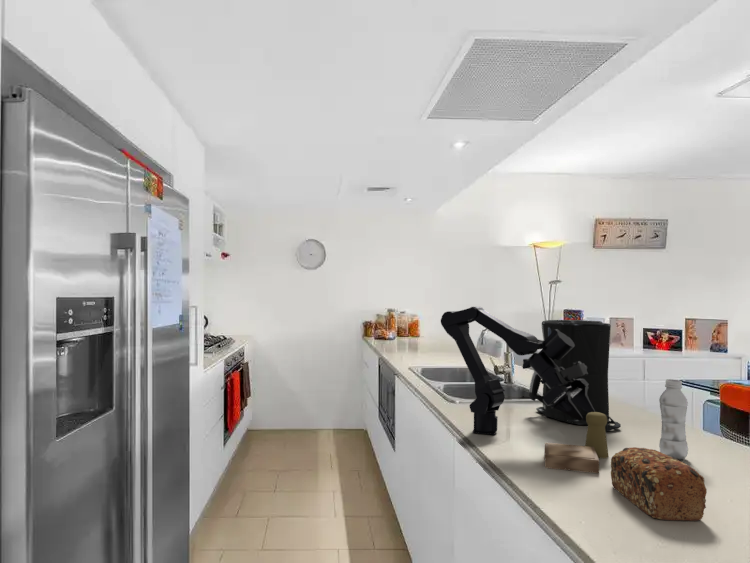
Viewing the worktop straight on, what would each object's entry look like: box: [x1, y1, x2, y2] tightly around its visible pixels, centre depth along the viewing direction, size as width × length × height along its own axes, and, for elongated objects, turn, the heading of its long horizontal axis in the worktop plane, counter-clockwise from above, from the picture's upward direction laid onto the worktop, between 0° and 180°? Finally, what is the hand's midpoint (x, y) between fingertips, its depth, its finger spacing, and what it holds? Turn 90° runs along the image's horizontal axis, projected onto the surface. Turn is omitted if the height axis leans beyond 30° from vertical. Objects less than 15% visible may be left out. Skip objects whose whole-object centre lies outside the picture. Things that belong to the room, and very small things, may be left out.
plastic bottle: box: [658, 378, 689, 460], centre depth 141 cm, size 6×7×20 cm
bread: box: [610, 447, 707, 522], centre depth 110 cm, size 19×11×10 cm, turn 179°
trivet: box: [543, 442, 600, 474], centre depth 135 cm, size 12×12×3 cm
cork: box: [584, 412, 610, 459], centre depth 142 cm, size 6×6×11 cm
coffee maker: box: [528, 319, 621, 433], centre depth 185 cm, size 23×32×34 cm
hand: (588, 417), depth 144 cm, fingers open, 9 cm apart
